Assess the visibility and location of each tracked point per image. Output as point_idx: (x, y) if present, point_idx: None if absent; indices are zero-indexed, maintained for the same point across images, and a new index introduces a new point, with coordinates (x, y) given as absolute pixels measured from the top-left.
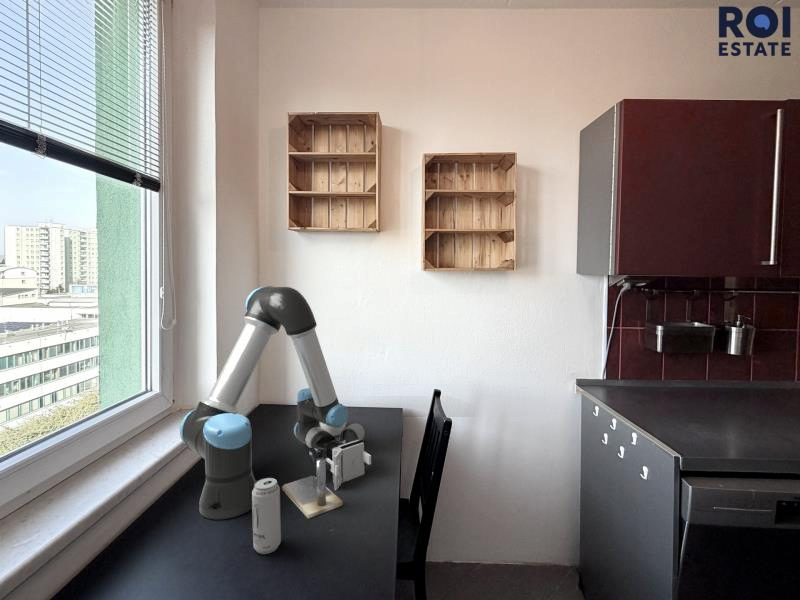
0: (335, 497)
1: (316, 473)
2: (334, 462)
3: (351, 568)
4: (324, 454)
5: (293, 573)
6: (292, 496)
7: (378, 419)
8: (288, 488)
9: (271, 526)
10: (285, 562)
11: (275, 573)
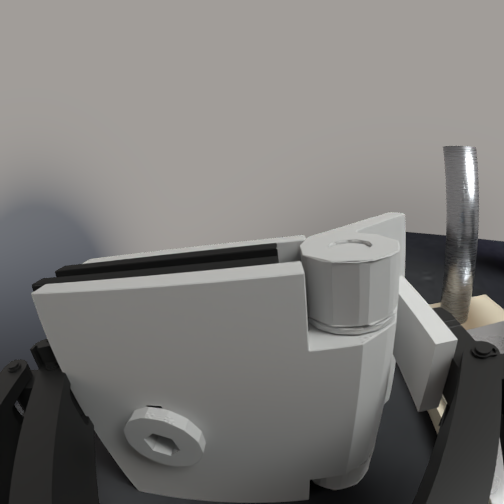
0: None
1: (478, 200)
2: (401, 251)
3: (405, 242)
4: (470, 434)
5: (478, 247)
6: None
7: None
8: None
9: None
10: (494, 255)
11: (501, 249)
